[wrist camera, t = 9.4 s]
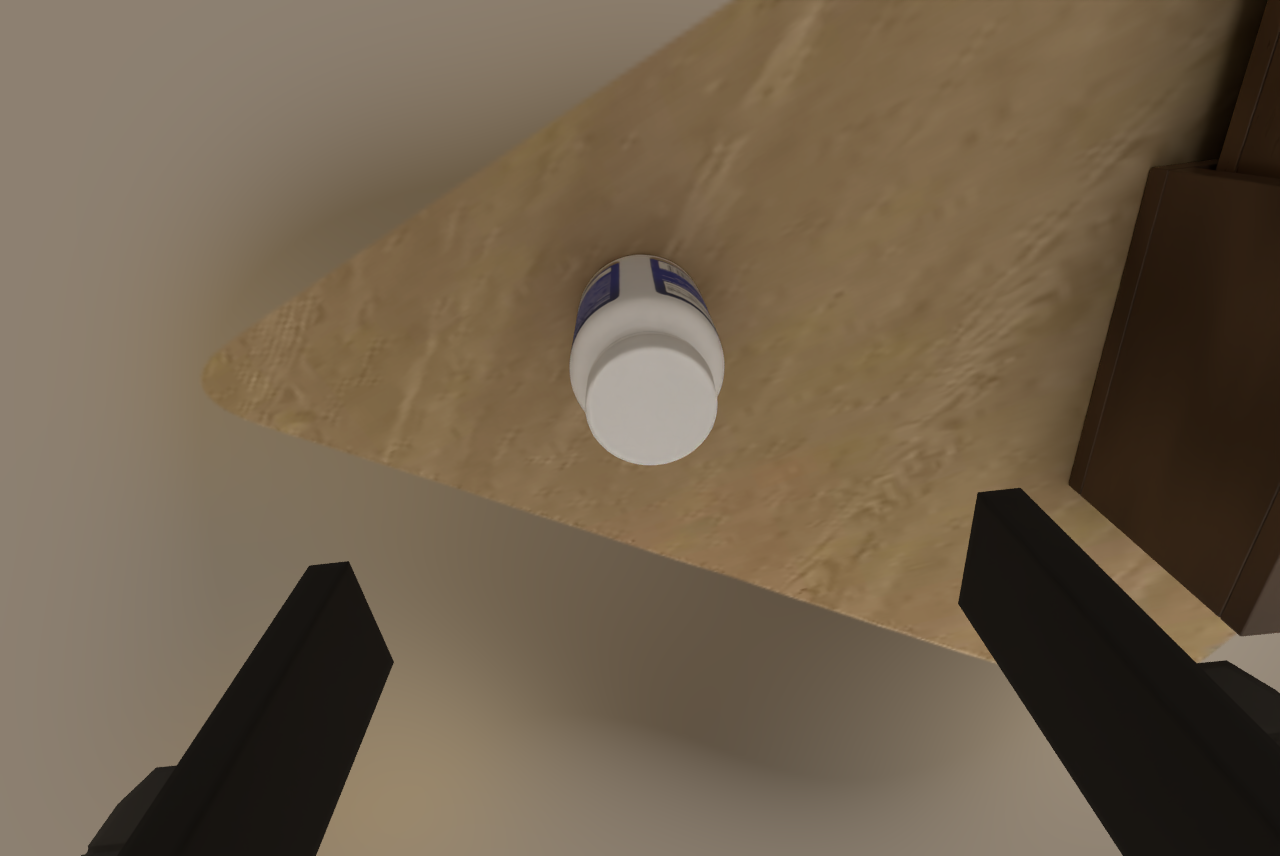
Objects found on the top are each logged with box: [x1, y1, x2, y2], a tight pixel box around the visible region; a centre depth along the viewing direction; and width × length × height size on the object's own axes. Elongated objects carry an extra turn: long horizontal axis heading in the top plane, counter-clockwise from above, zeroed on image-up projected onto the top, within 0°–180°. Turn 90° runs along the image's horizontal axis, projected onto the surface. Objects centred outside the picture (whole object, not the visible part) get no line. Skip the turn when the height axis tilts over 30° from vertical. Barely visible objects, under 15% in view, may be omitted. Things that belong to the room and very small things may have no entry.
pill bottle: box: [570, 255, 724, 465], centre depth 22 cm, size 5×5×9 cm
